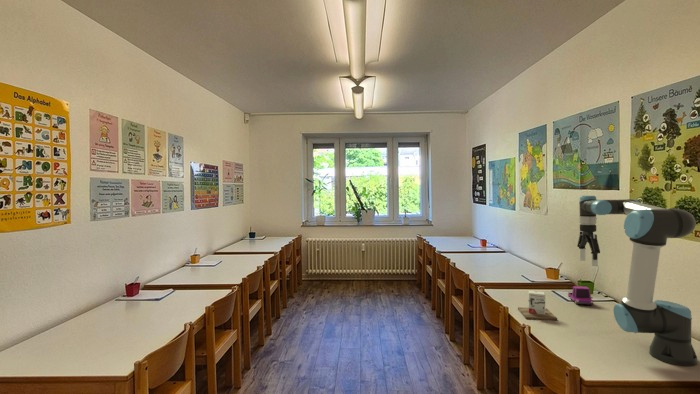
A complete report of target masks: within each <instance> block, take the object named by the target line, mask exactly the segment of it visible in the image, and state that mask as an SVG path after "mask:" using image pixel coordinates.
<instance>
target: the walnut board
mask: <svg viewBox="0 0 700 394" xmlns="http://www.w3.org/2000/svg"><path fill="white" fill-rule="evenodd" d="M517 311H519V312H520V314H521V315H522V316H523V317H524V318H525V320H538V321H539V320H541V321H558V318H557V316H555V315H554V313H552V312H551V311H550V310H549V309H548V308H546V307H545V315H543V314H534V313H529V312H528V307H519V306H518V307H517Z"/></svg>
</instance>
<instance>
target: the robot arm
mask: <svg viewBox="0 0 700 394" xmlns="http://www.w3.org/2000/svg"><path fill="white" fill-rule="evenodd" d="M578 205H579V237H578V241H577V245H576V247H577V248H578V250H579V253H578V254H579V257H578V258H579V259H578V260H579V261H580V262H583V261H584V262H585V261H586V245H587V244H588V245H589V248H590V250H591V252H590V266H591V267H598V265H599V263H598V262H599V261H598V260H599V259H598V256H599V255H598V254H600V253H601V250H600V246H599V241H598V236H597V234H594V233H595V232H597V225H596V224H597V219H598V218H597V216H606V215H625V216H626V217H625V219H624V223H623V229H624V233H625V235H626V236H627V237H628V238H629V241H630V242H631V243H632V245H633V246H632V252H631V261H630V268H629V276H628V281H627V282H628V283H627V289H626V290H627V291H626V294H625V295H624V296H622V297H621V303H616V304H615V305H614V306H613V315H614V316H613V317H614V320H615V322H616V323H617V325H618V326H619V328H620V329H622V331H623V332H626V333H634V334H654V336H653V338H652V341H651V343H650V345H649V347H648V348H649V352H648V353H649V355H651V357H653V358H655V359H657V360H659V361H662V362H665V363H669V364H672V365H676V366H684V367H692V366H693V367H694V366H697V364H698V356H697V354H696V351H695V349H694V347H693V343H692V320H693V317H692V310H691V309H690V308H689V307H688V306H685V305H682V304H680V303H676V302H673V301H669V300H663V299H656V300H654V293H655V286H656V281H657V273H658V267H659V259H660V253H661V249H662V248H663V247H666V245H667V242H668V239H679V238H684V237H686V236H688V235H690V234H692V233H693V231H694V230H695V228H696V226H697V225H696V224H697V221H696V218H695V217H694V214H692V213H690V212H688V210H684V209H679V208H675V207H670V208H666V207H665V208H664V207H659V206H657V205H651V204H647V203H644V202H643V203H642V202H640V201H639V200H638V199H631V198H628V199H627V198H626V199H597V196H595V195H581V196H579V204H578Z"/></svg>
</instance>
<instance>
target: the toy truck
mask: <svg viewBox="0 0 700 394" xmlns="http://www.w3.org/2000/svg"><path fill="white" fill-rule="evenodd" d="M567 297H568V298H569V300H570V299H572V300H571V301H573V302H574V305H589V306H592V305H594V300H593V297H592V296H591V291H590V288H589V287H588V286H575V285H574V286H572V292H567Z"/></svg>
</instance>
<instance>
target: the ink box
mask: <svg viewBox="0 0 700 394" xmlns="http://www.w3.org/2000/svg"><path fill="white" fill-rule="evenodd" d="M527 292H528V293H527V294H528V295H527V297H528V300H527V302H528V303H527V308H528V312H529V313H534V314H543V315H545V308H546V293H545V292H544V291H538V290H528V291H527Z"/></svg>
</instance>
